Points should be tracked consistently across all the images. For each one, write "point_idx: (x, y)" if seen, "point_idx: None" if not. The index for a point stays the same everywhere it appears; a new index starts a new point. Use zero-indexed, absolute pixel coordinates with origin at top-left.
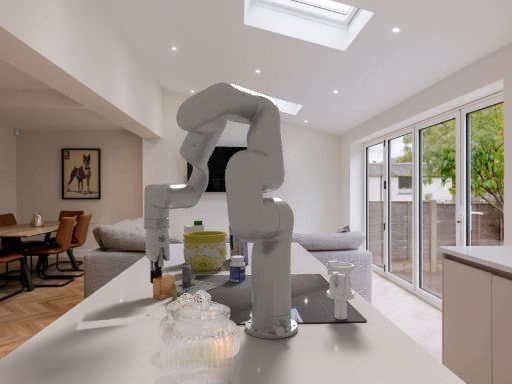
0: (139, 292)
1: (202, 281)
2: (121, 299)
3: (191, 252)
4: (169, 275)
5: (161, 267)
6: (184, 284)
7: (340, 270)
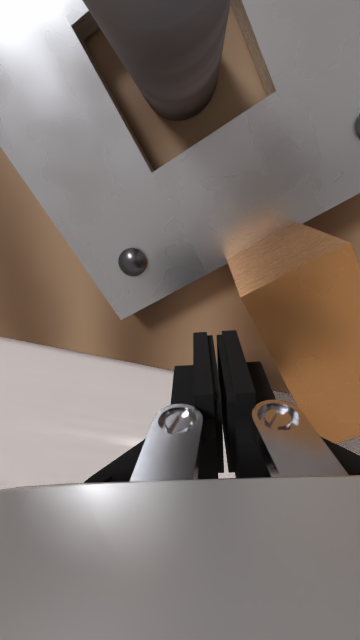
0: (24, 356)
1: None
2: (122, 440)
3: None
4: (309, 300)
5: (353, 455)
6: (205, 92)
7: None
